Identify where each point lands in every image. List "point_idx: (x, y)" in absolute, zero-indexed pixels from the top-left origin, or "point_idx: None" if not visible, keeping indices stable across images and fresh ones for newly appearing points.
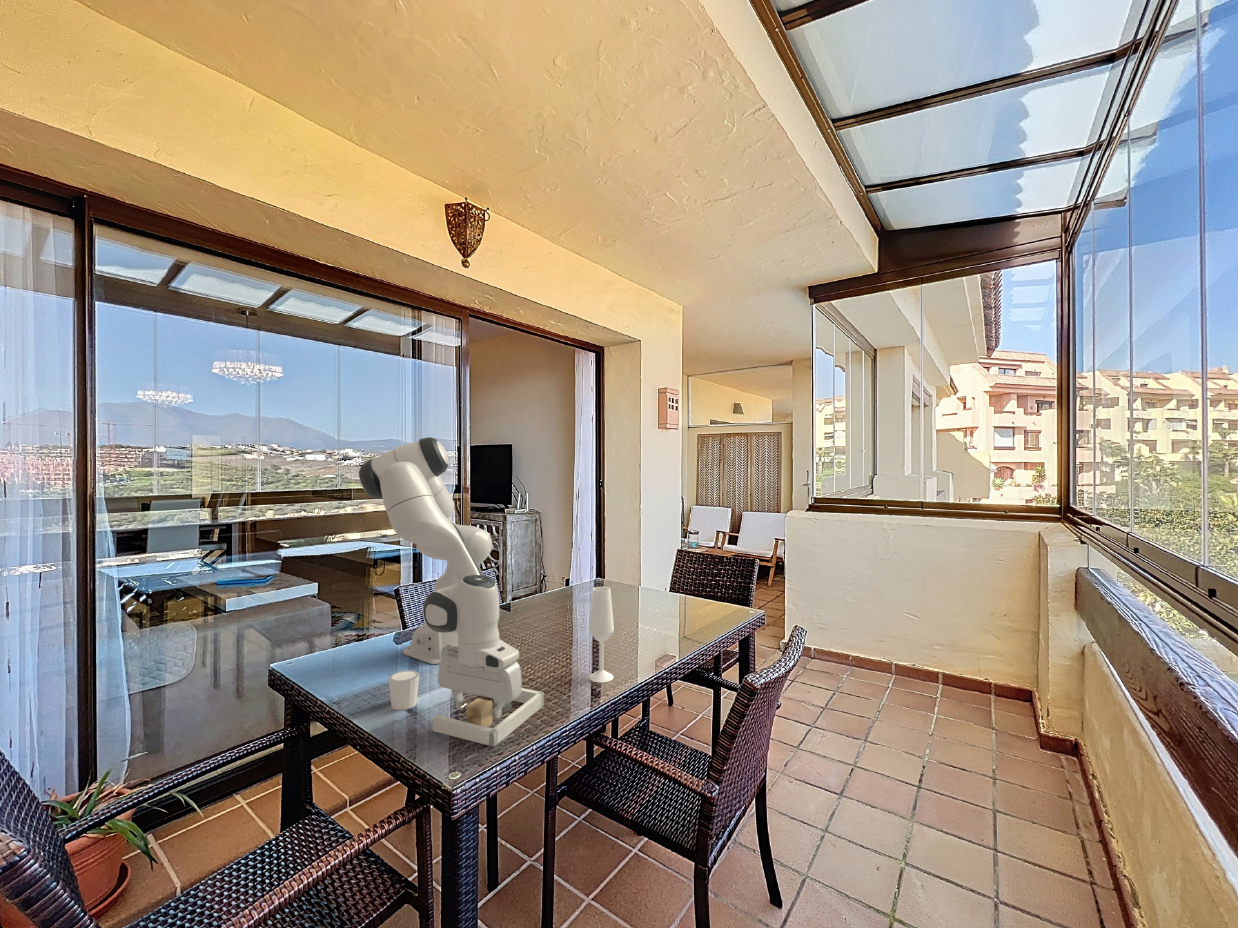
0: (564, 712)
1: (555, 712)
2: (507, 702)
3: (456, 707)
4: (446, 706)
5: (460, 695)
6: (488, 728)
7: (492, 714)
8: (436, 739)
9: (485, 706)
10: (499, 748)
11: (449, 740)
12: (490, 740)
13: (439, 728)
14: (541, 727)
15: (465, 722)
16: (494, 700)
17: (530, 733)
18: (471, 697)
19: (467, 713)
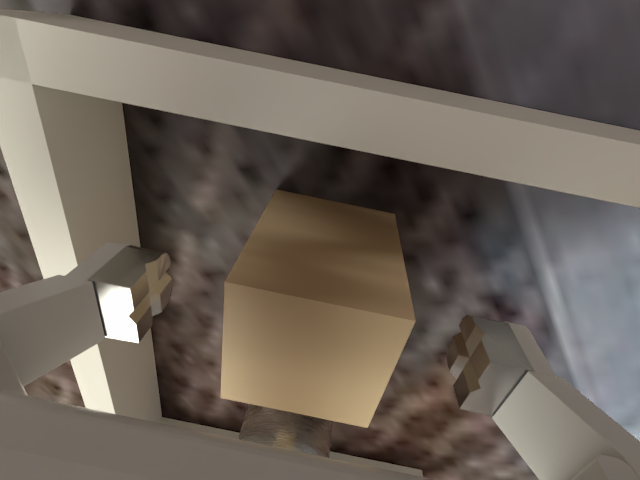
0: (31, 388)
1: (62, 386)
2: (245, 421)
3: (528, 331)
4: (602, 395)
5: (539, 447)
6: (65, 73)
7: (141, 260)
8: (586, 7)
9: (223, 331)
10: (22, 5)
11: (458, 21)
12: (68, 18)
13: (604, 126)
14: (12, 282)
15: (347, 136)
16: (314, 431)
17: (10, 224)
18: (485, 456)
19: (394, 272)
